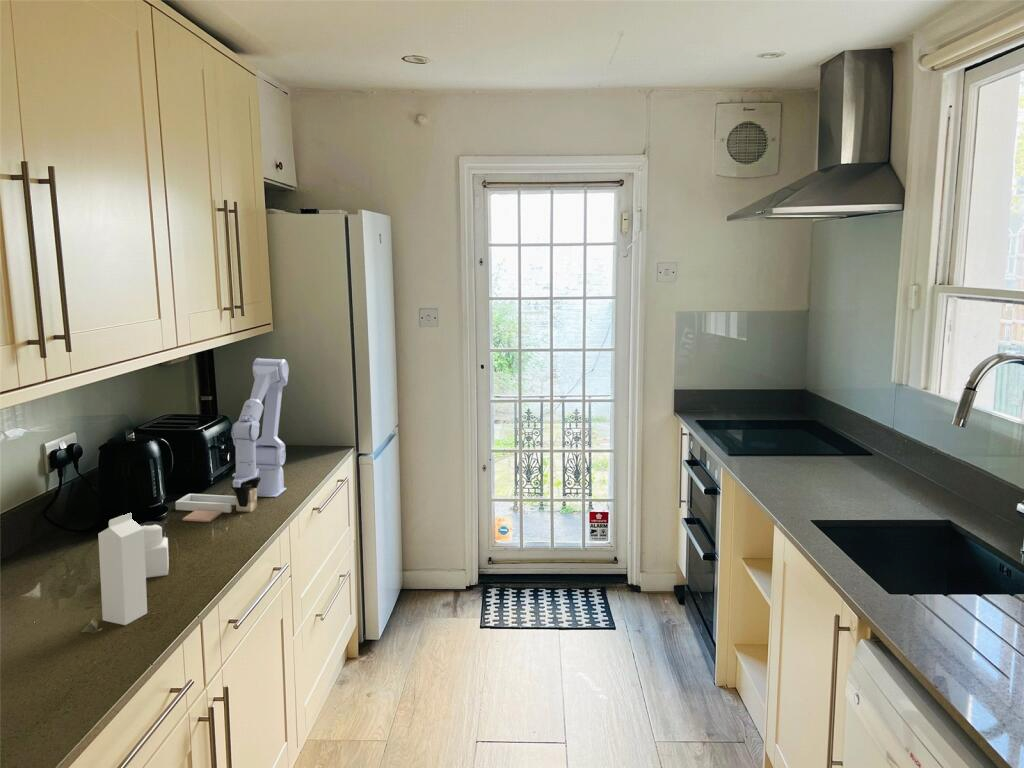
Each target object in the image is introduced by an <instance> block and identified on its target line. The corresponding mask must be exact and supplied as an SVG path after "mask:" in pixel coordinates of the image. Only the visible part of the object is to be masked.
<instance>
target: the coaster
mask: <svg viewBox="0 0 1024 768" xmlns="http://www.w3.org/2000/svg"><path fill="white" fill-rule="evenodd" d="M221 514H223V512H222V511H209V510H195V511H192V512H191V513H188V514H187V515H186V516H184V517H183V518H182V521H186V522H187V521H188V522H204V523H210V522H211V521H213V520H215V519H216V518H217V517H219V516H220V515H221Z"/></svg>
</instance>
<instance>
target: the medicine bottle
mask: <svg viewBox="0 0 1024 768" xmlns="http://www.w3.org/2000/svg"><path fill="white" fill-rule="evenodd" d="M139 525H140V526H141V527H143V528H144V548H145V571H146V579H149V578H154V577H164V576H168V575H169V567H170V566H169V565H170V563H169V562H170V561H169V560H170V558H169V538H168V537H166V534H165V524H164V523H163V522H160V521H153V520H152V521H146V522H144V523H141V524H139Z"/></svg>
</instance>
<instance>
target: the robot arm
mask: <svg viewBox="0 0 1024 768" xmlns="http://www.w3.org/2000/svg"><path fill="white" fill-rule="evenodd" d="M289 368H290V367H289V364H288V362H287V360H286V359H284V358H281V359H279V358H278V359H276V358H260V357H257V358H255V360H254V361H253V363H252V375H253V377H254V382H253V386H252V389H251V393H250V398H249V399H246V401H245V402H244V403H243V407H242V410H241V413H240V415H239V418H238V420H237V421H235V422H234V423H233V424H232V427H231V432H230V434H231V438H232V441H233V445H234V447H235V472H234V473H232V478H233V477H234V479H233V480H232V484H231V485H230V486H231V489H232V491H233V492H234V494H235V496H237V499H238V503H239V506H240V507H247V504H248V496H249V491H250V488H257V497H264V498H265V497H266V498H277V497H278V496H280V495H281V494H282V493H283V492H286V490H287V487H285V486H284V484H285V483H284V469H283V465H285V462H286V459H287V458H286V456H287V453H286V444H285V443H284V441H282V440H281V439H280V438H279V437H278V435H279V434H278V433H279V426H280V425H279V424H280V415H281V408H282V407H281V406H282V396H283V387H286V386H287V385H288V381H289V378H288V377H289V372H290V371H289V370H290V369H289ZM264 398H265V399H264ZM263 400H264V401H265V402H264V405H263V403H262V402H263ZM262 414H263V419H262V429H261V436H260V437H259V435H260V419H261V417H262Z"/></svg>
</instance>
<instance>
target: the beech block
mask: <svg viewBox="0 0 1024 768" xmlns="http://www.w3.org/2000/svg"><path fill="white" fill-rule="evenodd" d="M235 496H236V495H235ZM235 506H236V512H249V513H250V512H253V511H254V510H255V509H257V507H258V496H257V488H250V491H249V496H248V504H247V507H240V506H239V503H238V499H237V496H236V505H235Z"/></svg>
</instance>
